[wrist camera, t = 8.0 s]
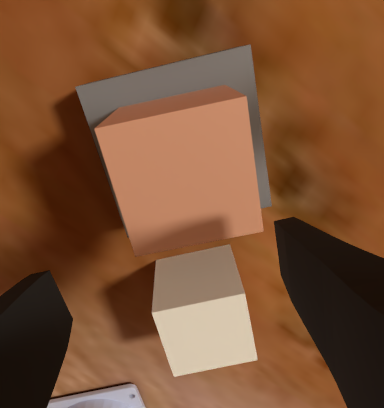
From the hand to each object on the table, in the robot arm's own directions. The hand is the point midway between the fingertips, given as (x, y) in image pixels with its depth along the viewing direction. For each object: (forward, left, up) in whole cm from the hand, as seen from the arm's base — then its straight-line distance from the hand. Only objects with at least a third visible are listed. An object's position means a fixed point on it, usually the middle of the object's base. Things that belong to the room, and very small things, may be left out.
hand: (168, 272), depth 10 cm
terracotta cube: (+2, -1, -7) cm, 8 cm away
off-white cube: (-8, 0, -10) cm, 13 cm away
